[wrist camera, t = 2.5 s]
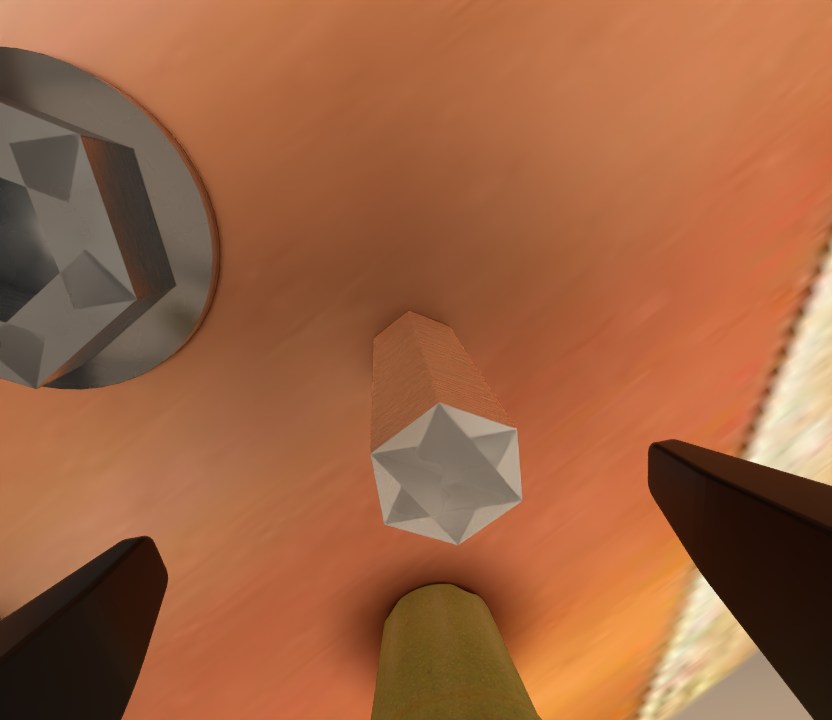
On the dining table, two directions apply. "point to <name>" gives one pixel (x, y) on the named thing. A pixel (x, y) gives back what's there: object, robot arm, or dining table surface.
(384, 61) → the dining table surface
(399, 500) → the tan elongated piece
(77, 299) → the socket
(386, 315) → the dining table surface
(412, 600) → the plant pot
